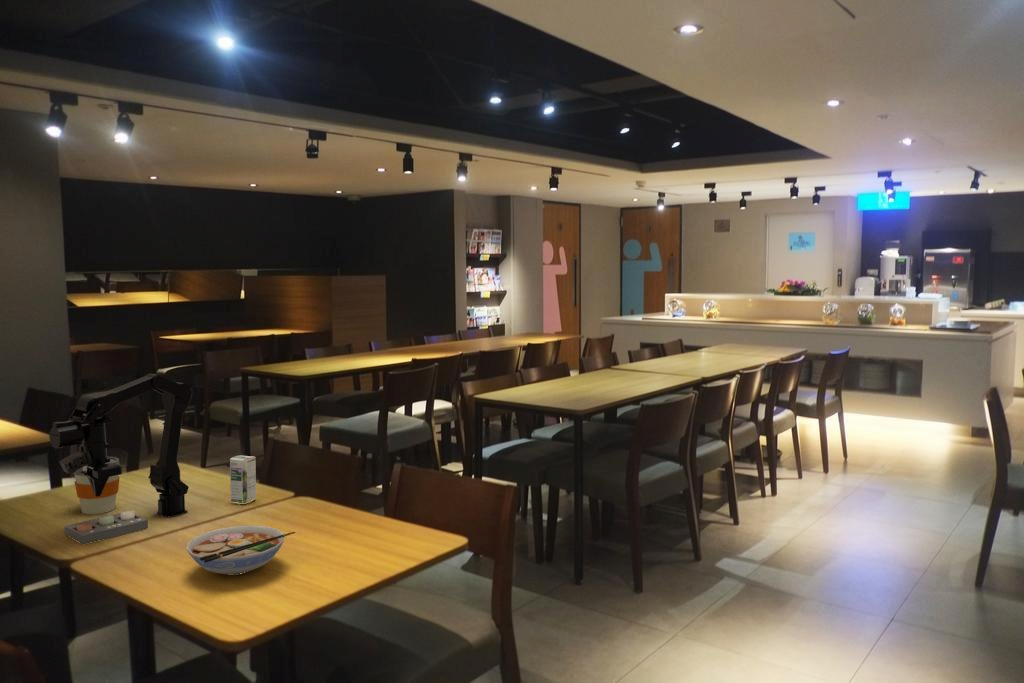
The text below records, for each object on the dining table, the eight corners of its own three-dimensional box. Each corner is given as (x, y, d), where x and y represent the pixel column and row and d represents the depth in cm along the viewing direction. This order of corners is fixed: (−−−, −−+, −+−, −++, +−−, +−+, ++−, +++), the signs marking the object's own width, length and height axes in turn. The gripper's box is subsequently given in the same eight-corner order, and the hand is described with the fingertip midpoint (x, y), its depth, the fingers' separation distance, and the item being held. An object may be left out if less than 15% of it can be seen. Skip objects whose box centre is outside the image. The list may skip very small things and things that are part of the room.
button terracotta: (89, 533, 214) (88, 522, 213) (94, 536, 211) (94, 525, 211) (75, 536, 211) (74, 526, 211) (80, 539, 209) (80, 528, 208)
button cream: (131, 520, 222) (131, 509, 222) (137, 522, 220) (136, 512, 220) (118, 523, 220) (118, 512, 219) (124, 525, 217) (124, 515, 217)
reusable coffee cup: (130, 504, 240) (128, 457, 239) (105, 517, 228) (103, 467, 226) (92, 502, 242) (90, 455, 240) (65, 515, 229) (63, 465, 228)
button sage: (110, 525, 218) (110, 514, 218) (116, 527, 216) (115, 517, 215) (97, 528, 215) (96, 517, 215) (102, 531, 213) (102, 520, 213)
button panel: (128, 519, 226) (128, 510, 226) (147, 528, 218) (147, 519, 218) (65, 534, 213) (64, 525, 212) (83, 544, 205) (82, 535, 205)
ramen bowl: (256, 545, 206) (255, 515, 205) (307, 566, 192) (307, 534, 191) (164, 573, 187) (163, 540, 186) (214, 599, 173) (213, 563, 172)
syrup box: (230, 504, 242) (228, 458, 240) (241, 498, 247) (240, 454, 246) (245, 505, 240) (244, 460, 239) (257, 500, 246) (256, 455, 244)
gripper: (48, 441, 211) (52, 496, 213) (76, 452, 199) (80, 510, 201) (91, 434, 220) (95, 487, 221) (121, 444, 208) (124, 500, 209)
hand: (97, 496), depth 213 cm, fingers closed
